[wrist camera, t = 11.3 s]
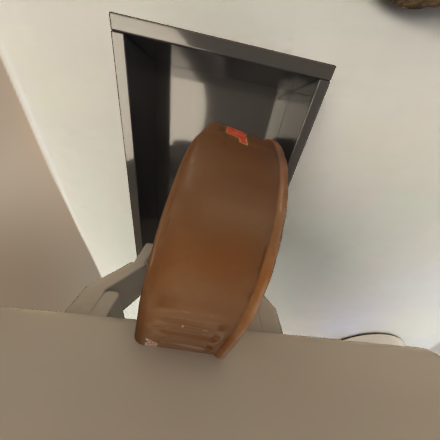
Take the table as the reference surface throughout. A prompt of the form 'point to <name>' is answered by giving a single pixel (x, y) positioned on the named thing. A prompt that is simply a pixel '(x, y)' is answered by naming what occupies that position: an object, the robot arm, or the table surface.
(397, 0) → the fossilized seashell
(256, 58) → the open rectangular box
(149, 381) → the robot arm
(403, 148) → the table surface
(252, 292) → the tin
